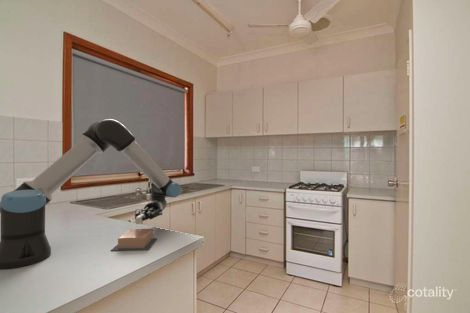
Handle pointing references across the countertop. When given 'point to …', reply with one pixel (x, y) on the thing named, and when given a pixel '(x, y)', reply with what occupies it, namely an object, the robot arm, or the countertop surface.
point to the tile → (135, 238)
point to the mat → (136, 248)
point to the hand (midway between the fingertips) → (137, 220)
